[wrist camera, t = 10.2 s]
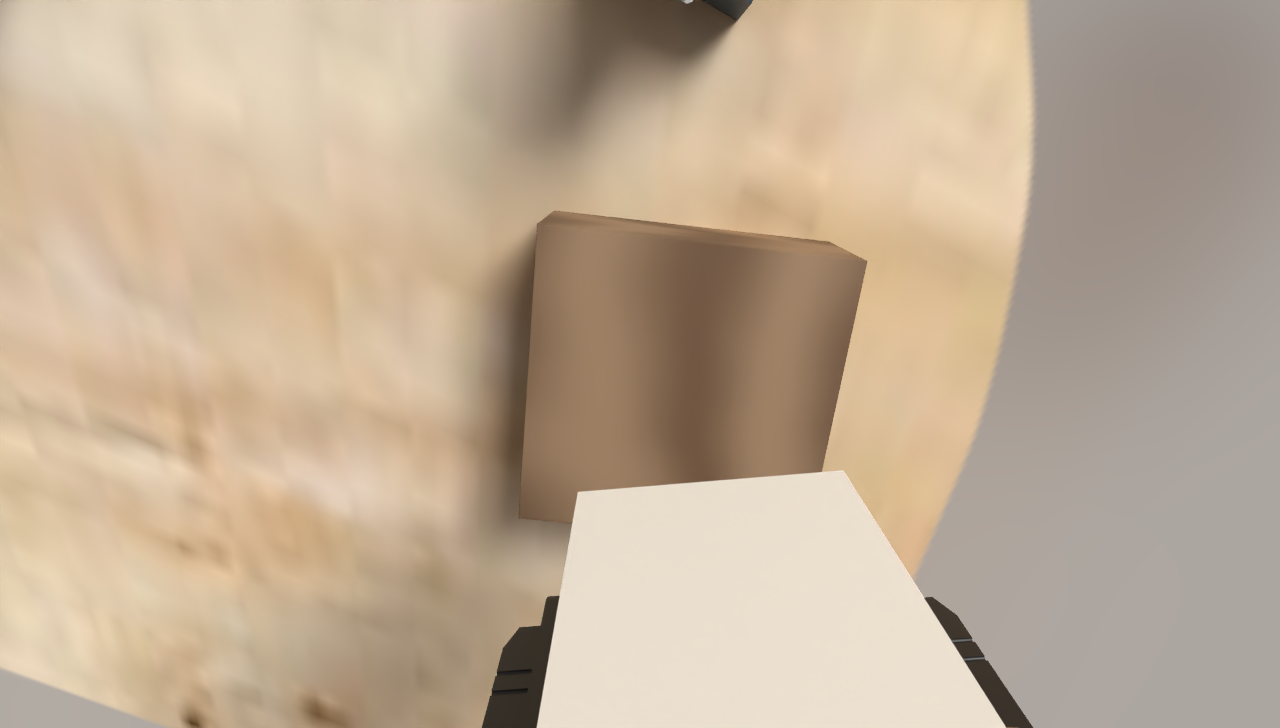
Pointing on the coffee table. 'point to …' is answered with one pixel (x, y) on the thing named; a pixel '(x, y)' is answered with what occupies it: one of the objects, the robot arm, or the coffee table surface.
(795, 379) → the walnut block
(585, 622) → the cream block
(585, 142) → the coffee table surface
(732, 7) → the watch
